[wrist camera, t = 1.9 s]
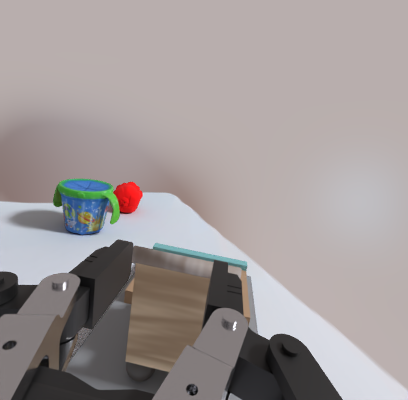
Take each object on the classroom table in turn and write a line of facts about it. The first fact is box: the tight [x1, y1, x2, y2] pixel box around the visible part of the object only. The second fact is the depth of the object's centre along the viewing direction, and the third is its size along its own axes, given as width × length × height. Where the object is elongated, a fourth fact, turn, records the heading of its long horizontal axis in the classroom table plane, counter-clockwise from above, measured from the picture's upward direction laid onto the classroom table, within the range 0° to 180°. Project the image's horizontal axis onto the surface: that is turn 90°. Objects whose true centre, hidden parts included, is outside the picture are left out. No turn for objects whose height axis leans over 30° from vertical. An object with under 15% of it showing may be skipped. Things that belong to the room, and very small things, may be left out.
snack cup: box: [53, 179, 120, 235], centre depth 55 cm, size 16×10×10 cm
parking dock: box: [65, 243, 258, 400], centre depth 34 cm, size 28×20×4 cm
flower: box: [113, 182, 143, 213], centre depth 70 cm, size 8×8×8 cm
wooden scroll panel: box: [125, 246, 242, 382], centre depth 27 cm, size 11×9×14 cm
